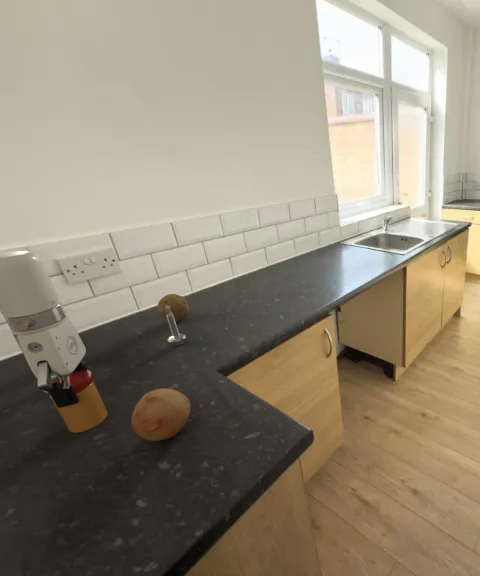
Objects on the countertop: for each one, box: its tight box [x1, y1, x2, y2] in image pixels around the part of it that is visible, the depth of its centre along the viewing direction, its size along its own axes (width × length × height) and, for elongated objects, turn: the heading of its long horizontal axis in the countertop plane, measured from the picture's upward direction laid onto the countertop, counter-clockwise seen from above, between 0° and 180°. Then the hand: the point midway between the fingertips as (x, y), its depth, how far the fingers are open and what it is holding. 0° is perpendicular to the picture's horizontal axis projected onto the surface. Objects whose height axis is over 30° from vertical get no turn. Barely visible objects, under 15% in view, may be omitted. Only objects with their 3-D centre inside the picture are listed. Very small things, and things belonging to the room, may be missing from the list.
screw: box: [164, 306, 187, 347], centre depth 95 cm, size 13×5×5 cm
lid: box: [48, 369, 95, 397], centre depth 65 cm, size 7×7×1 cm
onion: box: [130, 387, 191, 442], centre depth 64 cm, size 10×10×10 cm
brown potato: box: [156, 293, 190, 323], centre depth 110 cm, size 9×9×10 cm
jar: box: [49, 380, 109, 434], centre depth 67 cm, size 7×7×10 cm
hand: (75, 392), depth 66 cm, fingers closed on lid, 6 cm apart
